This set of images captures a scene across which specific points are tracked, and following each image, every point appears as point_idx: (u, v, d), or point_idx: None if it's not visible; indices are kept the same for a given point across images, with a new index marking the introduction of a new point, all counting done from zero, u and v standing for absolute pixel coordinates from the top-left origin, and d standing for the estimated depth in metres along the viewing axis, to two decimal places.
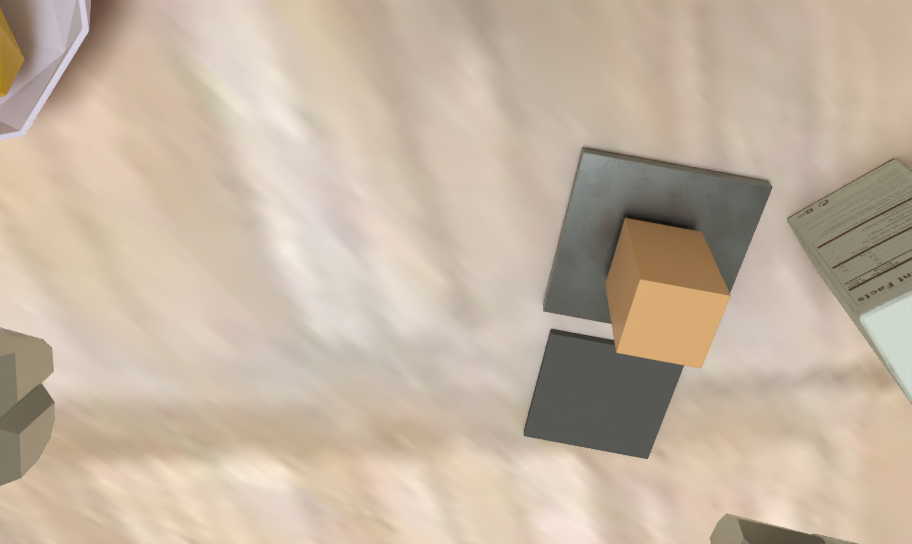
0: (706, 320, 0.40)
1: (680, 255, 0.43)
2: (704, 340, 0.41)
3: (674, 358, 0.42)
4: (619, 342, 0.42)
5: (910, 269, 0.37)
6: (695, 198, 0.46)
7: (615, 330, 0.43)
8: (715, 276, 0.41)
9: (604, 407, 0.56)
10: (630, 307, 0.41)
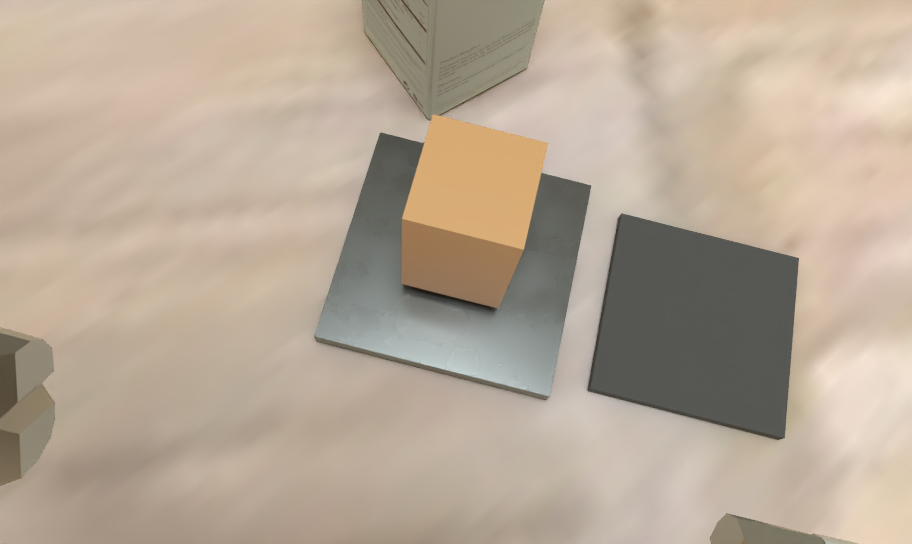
0: (470, 139, 0.30)
1: None
2: (501, 141, 0.30)
3: (532, 175, 0.30)
4: (507, 245, 0.29)
5: None
6: (388, 209, 0.39)
7: (507, 262, 0.30)
8: None
9: (713, 315, 0.38)
10: (448, 231, 0.29)
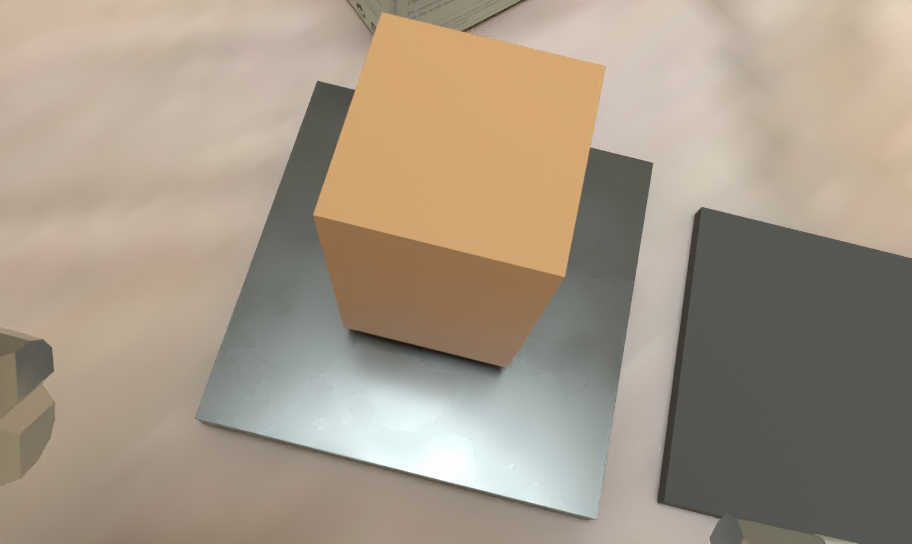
0: (453, 59, 0.15)
1: None
2: (515, 63, 0.16)
3: (577, 128, 0.15)
4: (530, 269, 0.14)
5: None
6: None
7: (529, 299, 0.16)
8: None
9: (859, 372, 0.23)
10: (410, 241, 0.14)
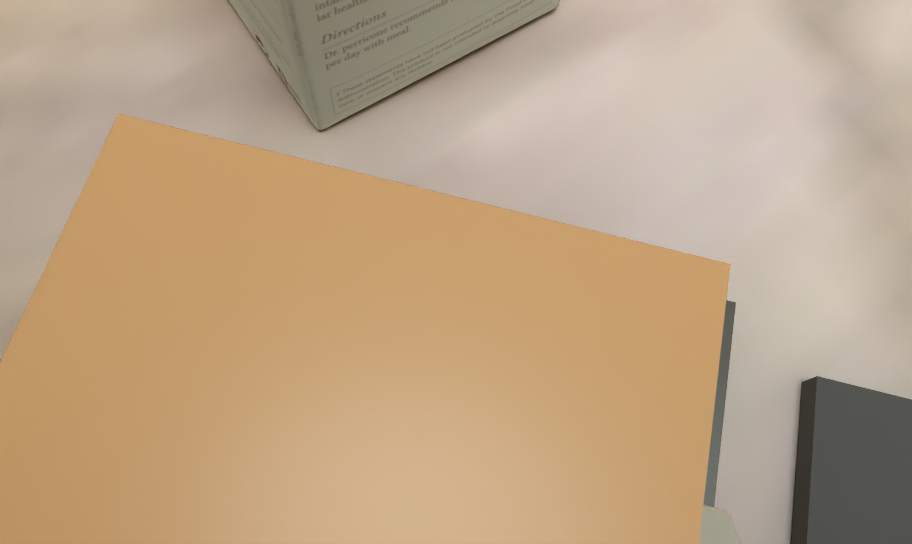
0: (306, 251, 0.06)
1: None
2: (479, 258, 0.06)
3: (658, 468, 0.05)
4: None
5: None
6: None
7: None
8: None
9: None
10: None
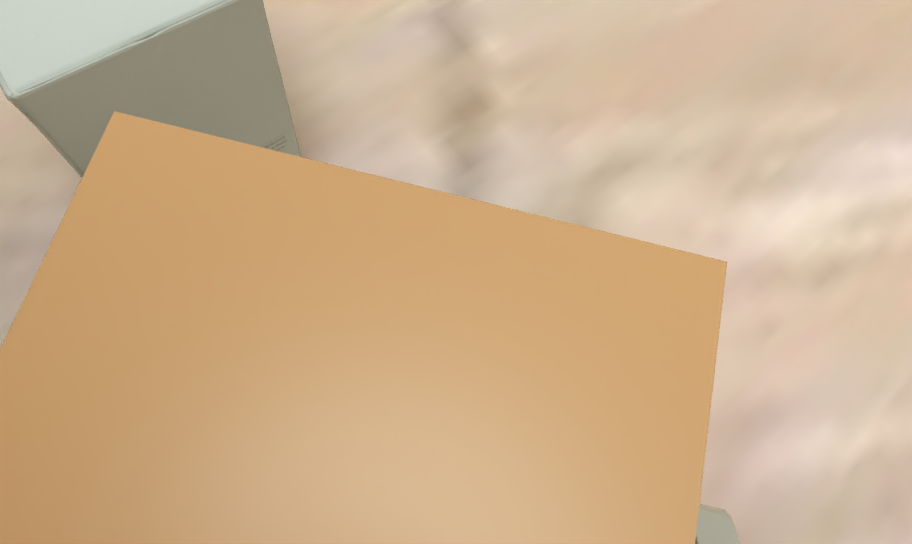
0: (302, 249, 0.06)
1: None
2: (475, 256, 0.06)
3: (655, 466, 0.05)
4: None
5: None
6: None
7: None
8: None
9: None
10: None
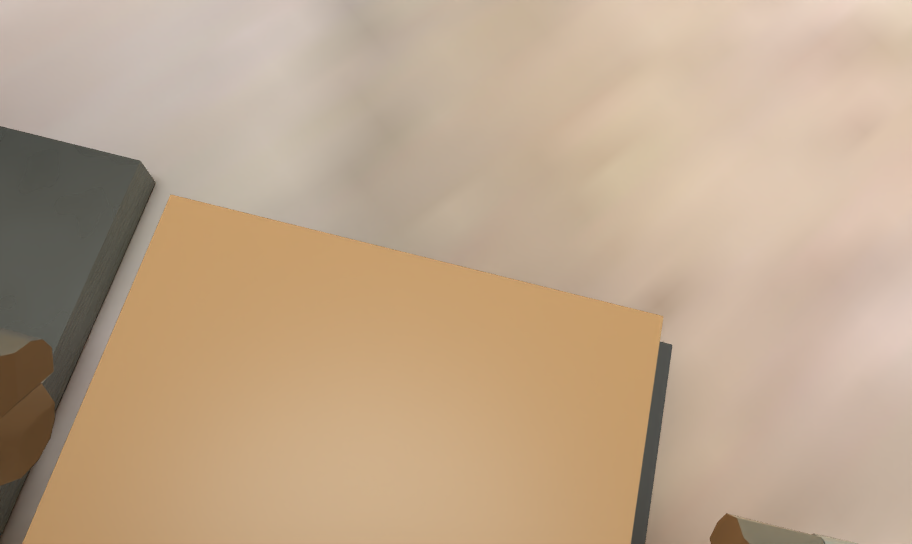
0: (323, 308, 0.07)
1: None
2: (461, 313, 0.07)
3: (601, 481, 0.07)
4: None
5: None
6: None
7: None
8: None
9: None
10: None
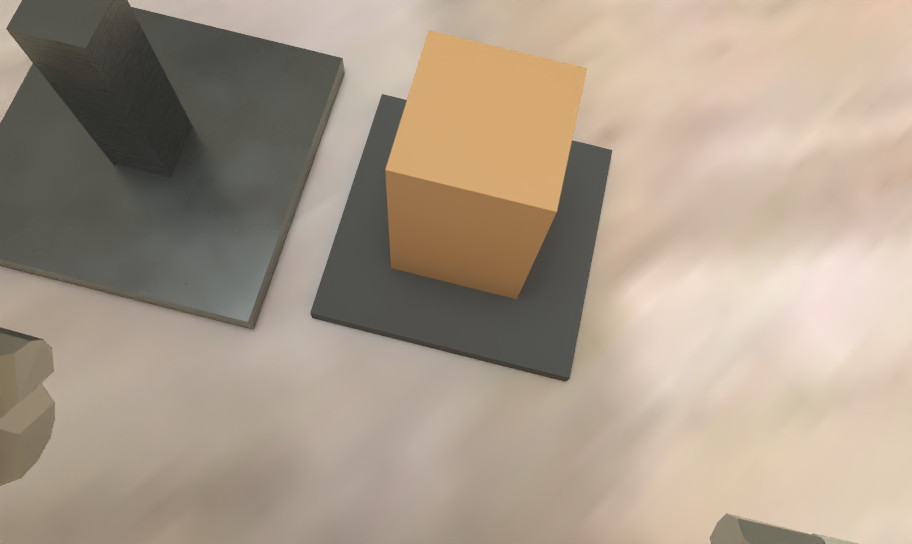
0: (479, 63, 0.22)
1: None
2: (523, 66, 0.22)
3: (566, 111, 0.22)
4: (533, 207, 0.21)
5: None
6: None
7: (532, 232, 0.22)
8: None
9: None
10: (451, 188, 0.21)
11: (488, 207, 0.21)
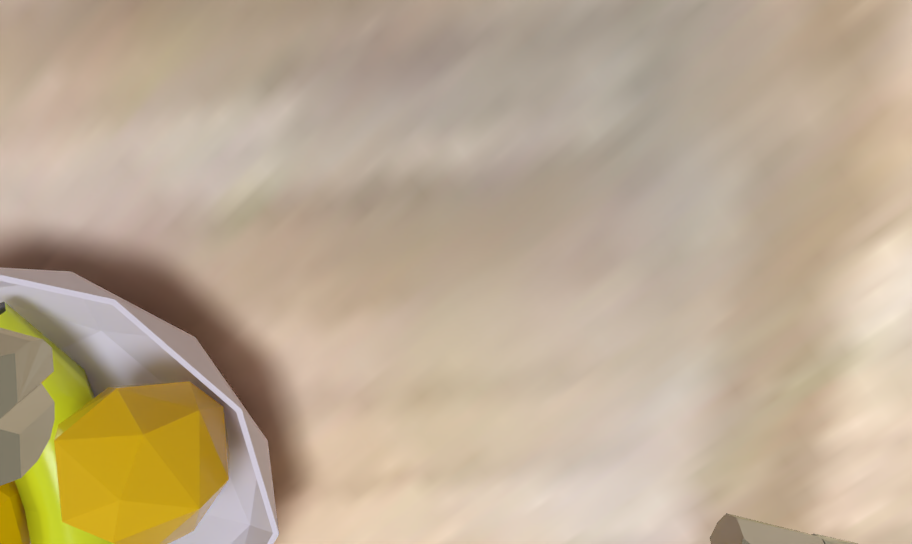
0: None
1: None
2: None
3: None
4: None
5: None
6: None
7: None
8: None
9: None
10: None
11: None
